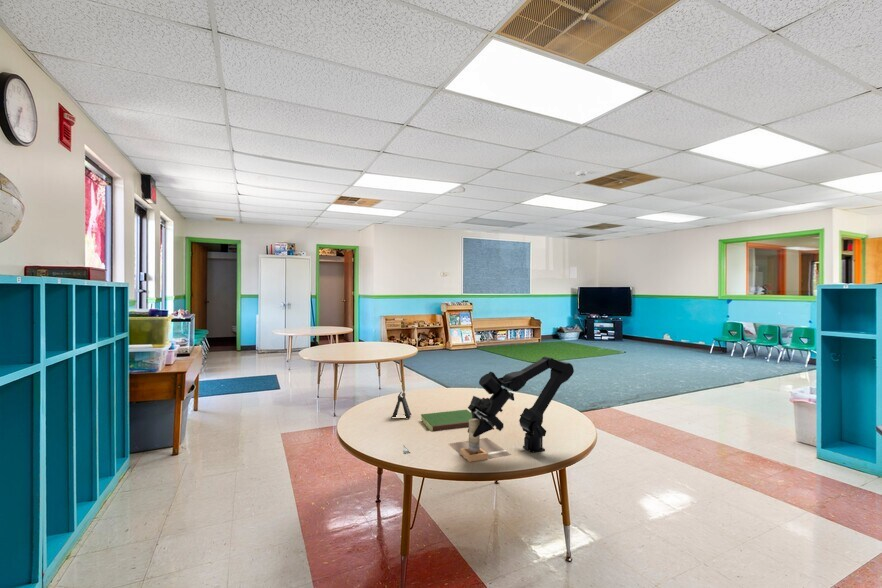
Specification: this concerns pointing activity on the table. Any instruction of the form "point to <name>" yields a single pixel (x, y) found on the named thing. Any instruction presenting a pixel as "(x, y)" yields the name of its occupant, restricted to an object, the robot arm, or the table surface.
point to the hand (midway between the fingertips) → (470, 434)
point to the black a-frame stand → (405, 406)
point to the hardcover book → (447, 420)
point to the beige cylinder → (473, 441)
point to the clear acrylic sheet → (485, 444)
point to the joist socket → (480, 456)
